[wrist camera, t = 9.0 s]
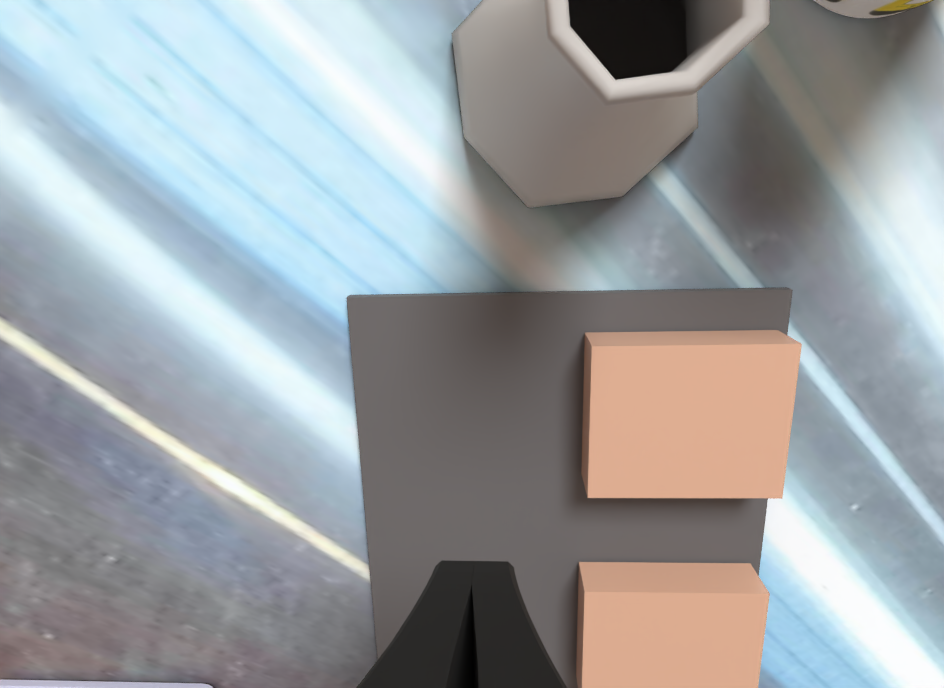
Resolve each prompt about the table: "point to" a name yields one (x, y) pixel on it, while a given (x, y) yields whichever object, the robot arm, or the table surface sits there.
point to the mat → (520, 445)
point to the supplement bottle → (870, 7)
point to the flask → (590, 86)
